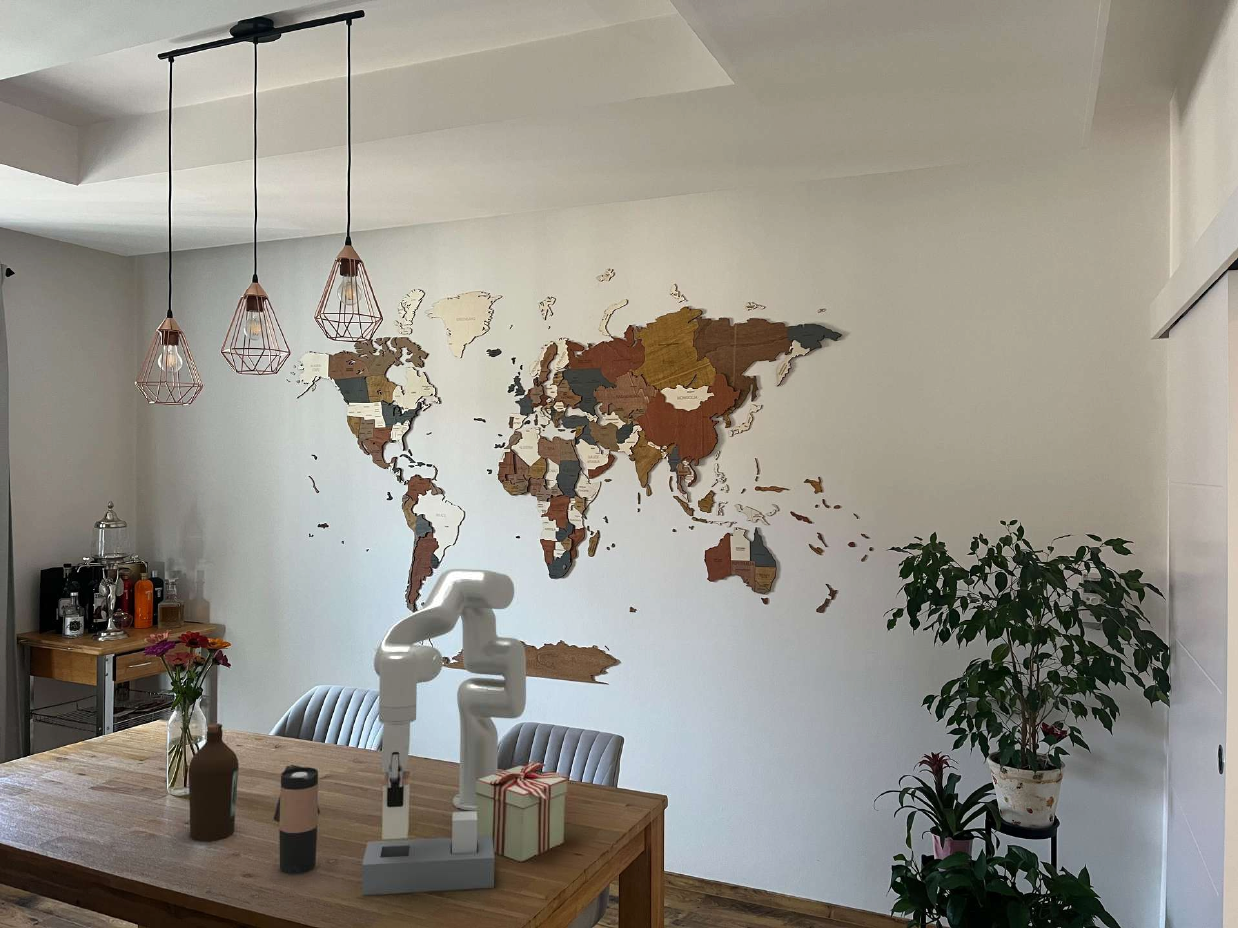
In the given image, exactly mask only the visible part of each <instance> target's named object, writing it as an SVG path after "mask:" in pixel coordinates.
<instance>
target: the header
mask: <svg viewBox="0 0 1238 928" xmlns="http://www.w3.org/2000/svg"><path fill="white" fill-rule="evenodd" d="M451 817H452V818H451V819H452V824H451V825H452V829H451V830H452V831H451V837H435V838H417V839H416V838H415V839H413V838H412V839H390V840H377V841H375V840H374V841H367V843H366V847H365V852H364V856H363V859H362V865H361V896H371V895H373V896H374V895H389V894H406V893H408V894H409V893H424V892H425V893H426V892H440V891H442V892H443V891H455V890H456V891H459V890H472V889H473V890H475V889H491V888H493V889H494V888H495V852H494V849H493V839H492V836H477V811H470V810H467V811H453V812H452V816H451Z"/></svg>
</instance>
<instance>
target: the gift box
mask: <svg viewBox="0 0 1238 928" xmlns="http://www.w3.org/2000/svg"><path fill="white" fill-rule="evenodd" d="M545 766H546V764H544V763H540V762H532V761H530V762H528V763H527V764H526V765H525V766H523V765H517V766H515V767H512V768H508V769H506V770H502V771H500V772H497V773H496V774H493V775H490V776H487V777H484V778H481V779H478V780H476V794H477V836H492V839H493V849H494V854H495V853H496V854H499V855H501V856H505V857H507V858H509V859H512V860H514V861H517V862H519V861H520V863H523V862H525V861H527V860H529V858H530V859H532V858H534V857H535V856H534V855H536V856H538V855H537V854H539V855H541V854H543V853H544V852H543V851H545V850H548V849H550V848H552V847H554V846H556V845H559V846H560V844H561V843H563V844H564V835H565V834H564V833H565V805H566V804H565V801H566V793H567V792H568V779H567V778H571V776H569V775H564V774H562V773H559V772H554V771H541V770H538V769H540V768H542V767H545ZM561 845H562V844H561ZM556 847H557V846H556ZM554 848H555V847H554ZM552 849H553V848H552ZM550 850H551V849H550ZM548 851H549V850H548ZM542 852H543V853H542ZM545 852H546V851H545ZM540 853H541V854H540ZM533 856H534V857H533ZM531 857H532V858H531ZM522 861H523V862H522Z"/></svg>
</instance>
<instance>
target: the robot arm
mask: <svg viewBox="0 0 1238 928" xmlns="http://www.w3.org/2000/svg"><path fill="white" fill-rule="evenodd" d="M514 597H515V585H514V582H513V580H512V578H511V577H510V576H508V575H507V574H505V573H500V572H496V571H491V570H486V569H472V568H470V569H465V568H451V569H446V571H443V572H442V573H441V574H440V576H439V577H438V579H437V580H436V583H435V584H434V586H433V588H432V589H431V591H430V593H429V594H428V597H427V599H426V600H425V602H424V603H423V606H422V607H421V608H420V609H419V610H418V609H417V610H416V611H414V612H413V613H411V614H409V615H408V616H407V615H406V616H405V617H404V618H402V619H401V620H399V621H397V622H396V623H395V624H393V625H392V626H391V627H390V628H389V629H388V631H386V633H385V634H384V637H383V638H382V640H381V641H380V643H379V646H378V648H377V649H376V652H375V654H374V658H373V659H374V660H373V668H374V671H375V673H376V675H377V676H378V677H379V683H378V685H379V690H378V691H379V692H378V693H379V695H378V696H379V697H378V722H379V723H381V724H383V729H382V748H381V749H382V750H381V751H382V752H381V770H380V771H381V773H382V774H384V773H385V772H389V773H388V774H389V778H388V787H387V807H402V806H403V791H404V786H402V778H403V772H404V771H407V766H408V762H409V761H408V759H409V753H410V741H411V739H410V738H411V735H410V734H411V723H413V722H415V721H416V720H417V694H418V692H417V690H418V689H417V684H421V683H428V682H430V681H432V680H434V679H436V678H437V677H438V676H439V674H440V673H441V671H442V668H443V656H442V653H441V652H440V651H439V650H438V649H437V648H435V647H434V646H429V645H419V644H417V643H420V642H423V641H427V640H430V639H434V638H437V637H441V636H443V635H446V634H448V633H450V632H451V631H453V630H454V628H455V627H456V625H457V622H458V620H459V618H461V622H462V623H461V626H462V662H463V666H464V669H465V670H466V671H467V672H469V673H470V674H475V675H487V676H488V675H489V676H490V675H491V676H501V677H503V678H501V679H500V678H491V677H490V678H489V677H471V678H468V679H466V680H465V679H464V680H463V681H462V682H461V683H460V685H459V686H458V689H457V693H456V699H457V700H456V701H457V707H458V715H459V729H460V730H459V731H460V734H459V735H460V738H459V739H460V740H459V741H460V742H459V785H458V786H459V788H458V789H459V791H458V794H456V795H455V796H454V797H453V799H452V805H454V807H455V808H457V809H459V808H460V809H461V810H463V811H477V794H476V780H478V779H481V778H484V777H487V776H490V775H493V774H496V773H498V753H499V752H498V750H499V749H498V748H499V747H498V746H499V745H498V744H499V743H498V742H499V734H498V729H497V727H496V724H495V723H494V721H493V719H494V718H495V719H496V718H497V719H499V718H500V719H509V720H510V719H518V718H520V717H521V716H522V715H523V713H524V712H525V709H526V701H527V658H526V651H525V647H524V645H523V643H522V642H521V640H520V639H518V638H514V637H501V636H498V634H497V619H496V614H495V612H494V610H505V609H507V608H508V607H509V606H510V605H511V604H512V602H513V600H514ZM493 609H494V610H493ZM415 644H417V645H415ZM492 718H493V719H492ZM398 774H400V777H399V776H398Z"/></svg>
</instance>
